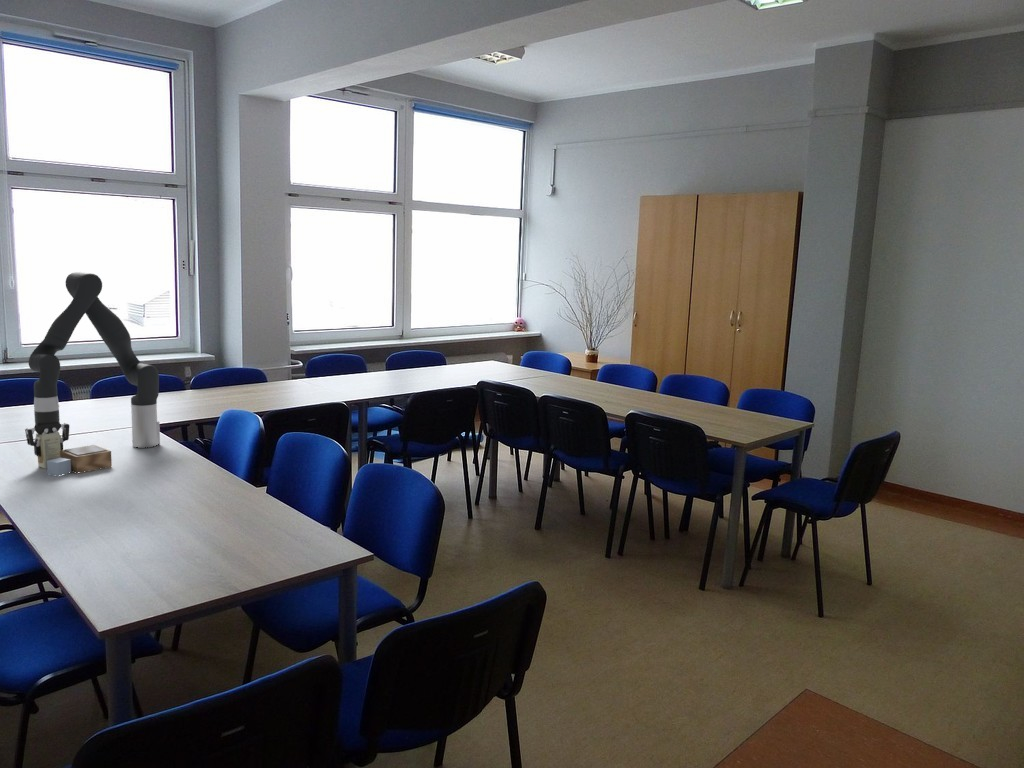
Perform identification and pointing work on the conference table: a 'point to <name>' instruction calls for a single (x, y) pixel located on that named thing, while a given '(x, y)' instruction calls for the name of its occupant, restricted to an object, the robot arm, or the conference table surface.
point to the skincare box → (49, 448)
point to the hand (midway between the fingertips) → (49, 454)
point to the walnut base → (87, 458)
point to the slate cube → (58, 466)
